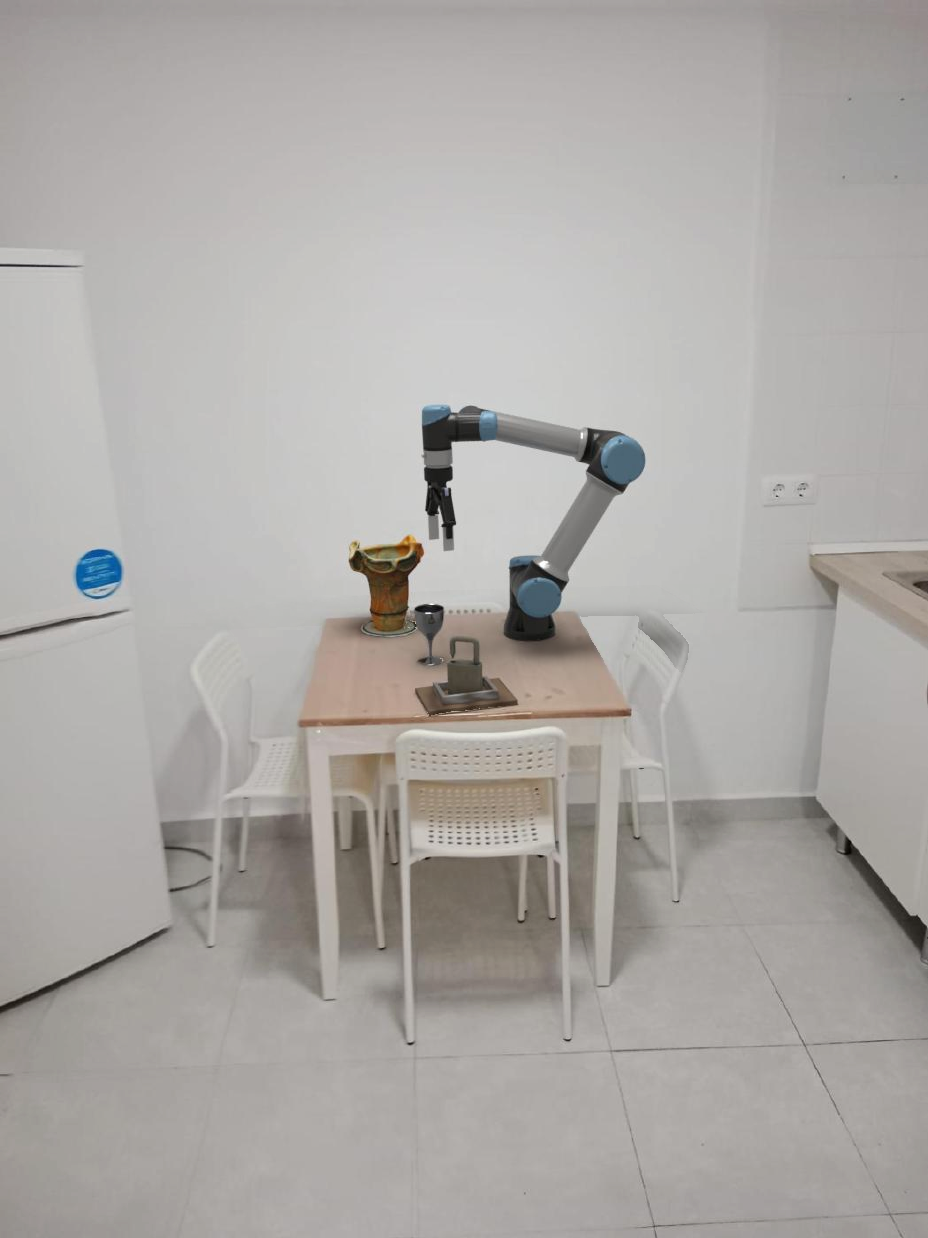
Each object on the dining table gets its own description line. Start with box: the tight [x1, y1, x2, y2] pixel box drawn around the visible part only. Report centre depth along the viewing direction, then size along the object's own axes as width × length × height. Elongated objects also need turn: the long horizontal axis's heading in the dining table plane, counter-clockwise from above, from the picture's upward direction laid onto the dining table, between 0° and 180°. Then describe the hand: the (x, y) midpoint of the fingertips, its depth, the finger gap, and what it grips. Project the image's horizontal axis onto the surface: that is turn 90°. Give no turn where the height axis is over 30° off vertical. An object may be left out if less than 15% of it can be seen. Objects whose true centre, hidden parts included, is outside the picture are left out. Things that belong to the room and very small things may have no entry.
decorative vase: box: [348, 534, 425, 638], centre depth 279 cm, size 21×23×28 cm
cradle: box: [414, 675, 519, 717], centre depth 231 cm, size 22×15×3 cm
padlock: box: [446, 635, 483, 695], centre depth 229 cm, size 4×8×15 cm, turn 74°
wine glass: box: [413, 603, 445, 666], centre depth 254 cm, size 8×8×15 cm
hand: (441, 544), depth 253 cm, fingers open, 13 cm apart
